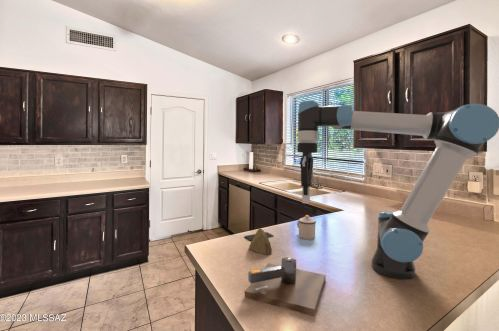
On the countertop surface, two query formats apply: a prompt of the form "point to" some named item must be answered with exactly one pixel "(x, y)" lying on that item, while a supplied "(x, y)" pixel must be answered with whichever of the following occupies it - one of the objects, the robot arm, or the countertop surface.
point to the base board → (290, 291)
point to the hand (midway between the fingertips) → (305, 202)
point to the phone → (250, 237)
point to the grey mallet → (276, 272)
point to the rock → (260, 243)
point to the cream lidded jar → (306, 227)
